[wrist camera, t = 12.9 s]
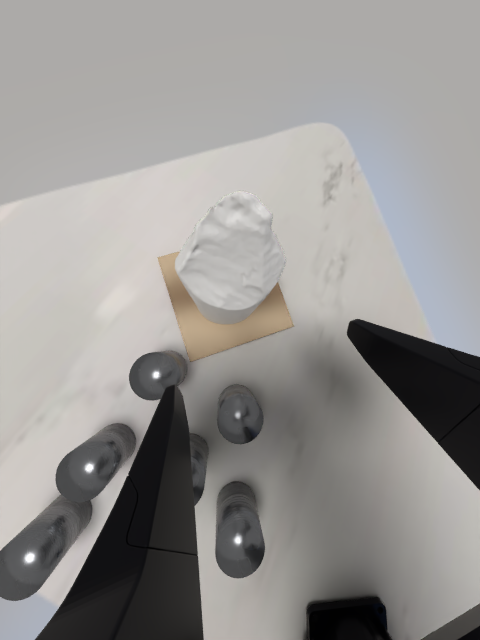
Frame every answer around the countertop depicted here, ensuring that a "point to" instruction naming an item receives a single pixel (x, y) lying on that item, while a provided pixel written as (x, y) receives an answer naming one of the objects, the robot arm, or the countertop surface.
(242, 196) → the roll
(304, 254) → the countertop surface
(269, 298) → the mat
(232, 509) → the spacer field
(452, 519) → the countertop surface
